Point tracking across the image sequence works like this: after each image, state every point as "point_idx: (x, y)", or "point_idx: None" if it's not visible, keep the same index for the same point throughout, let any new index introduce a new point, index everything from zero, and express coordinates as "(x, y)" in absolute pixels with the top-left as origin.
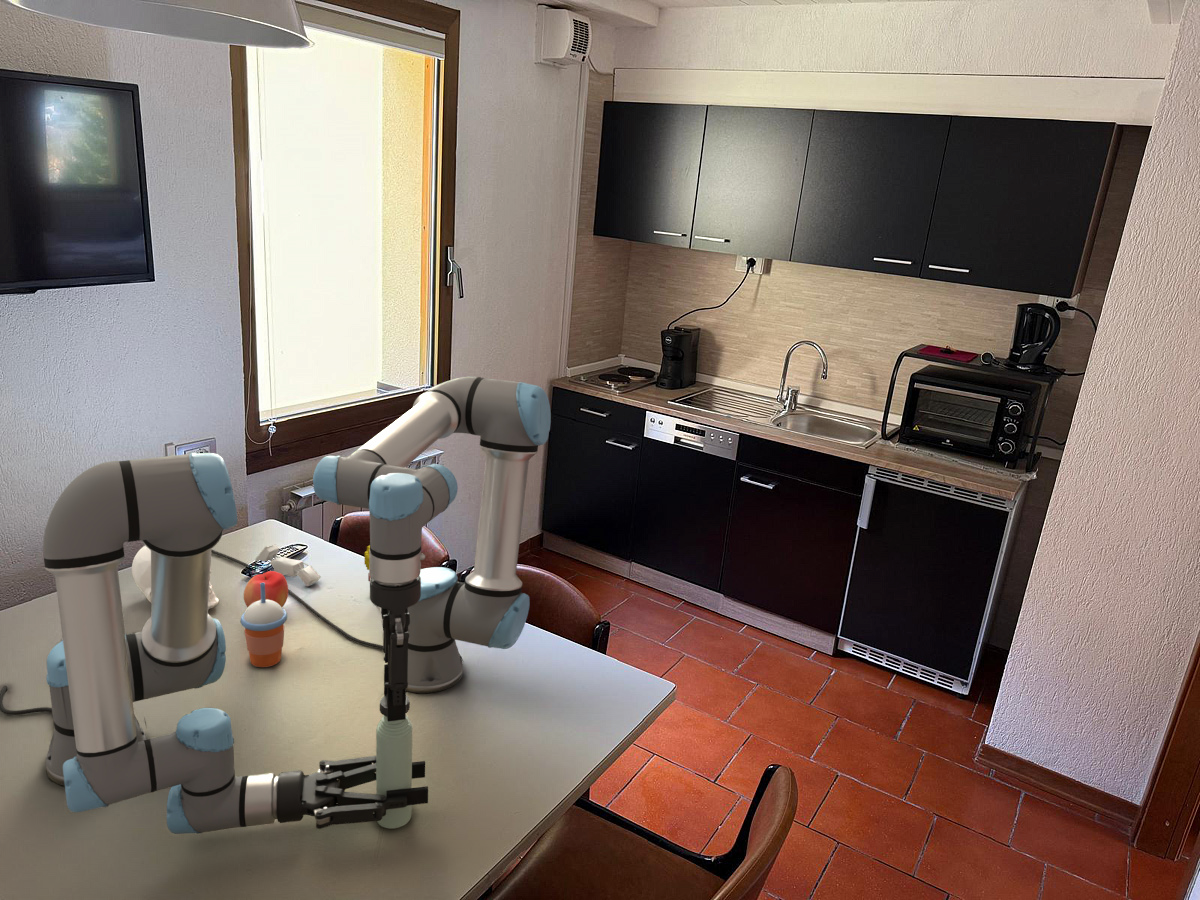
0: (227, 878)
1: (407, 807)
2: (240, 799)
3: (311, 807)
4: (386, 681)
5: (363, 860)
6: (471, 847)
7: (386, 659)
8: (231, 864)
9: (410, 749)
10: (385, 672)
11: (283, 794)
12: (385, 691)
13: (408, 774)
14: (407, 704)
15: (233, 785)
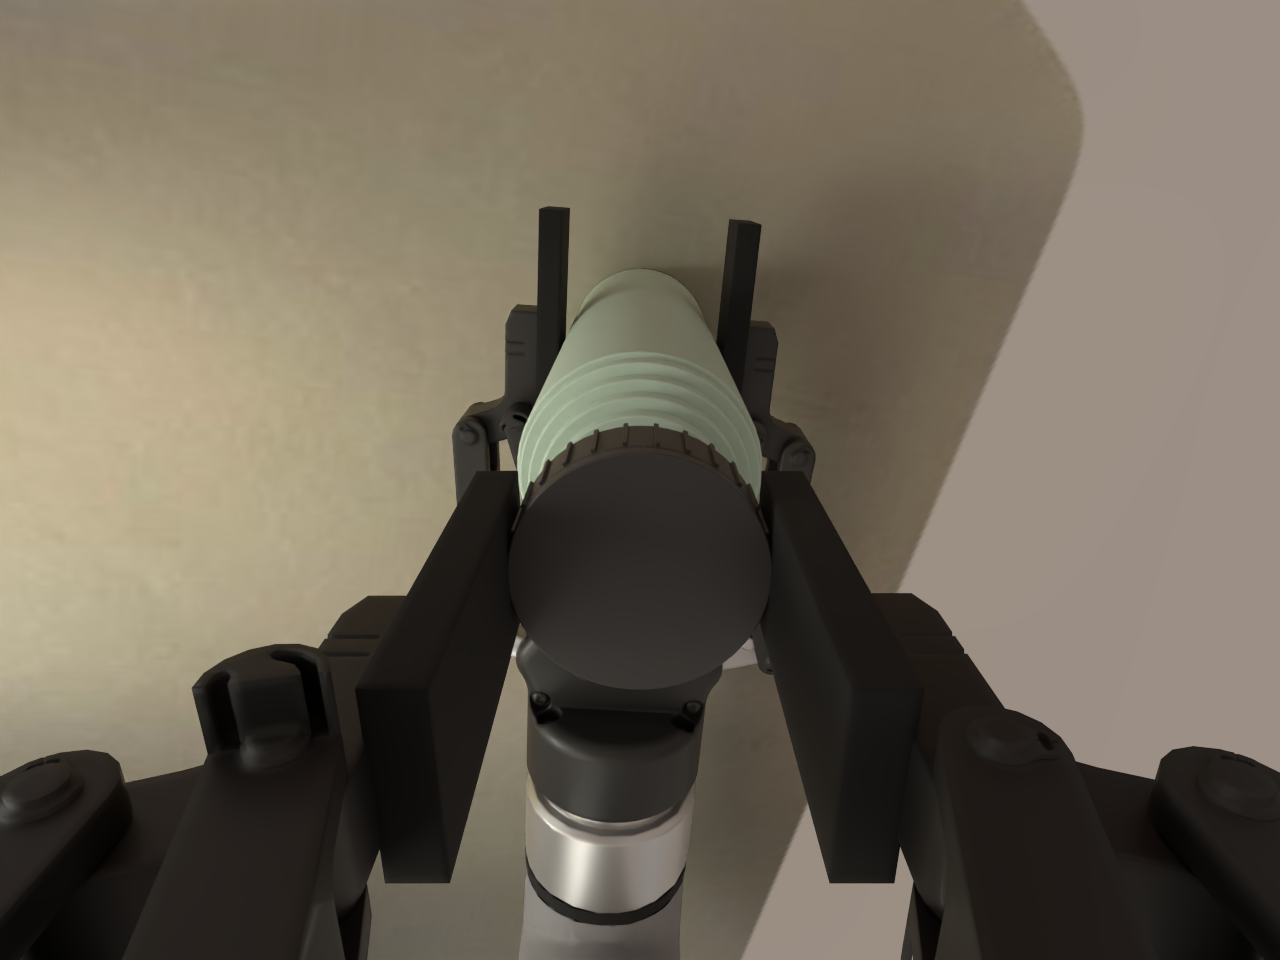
0: (771, 788)
1: (691, 299)
2: (666, 903)
3: (717, 680)
4: (488, 716)
5: (824, 454)
6: (896, 45)
7: (364, 937)
8: (722, 783)
9: (699, 342)
10: (468, 812)
11: (677, 791)
12: (507, 654)
13: (700, 325)
14: (719, 475)
15: (622, 946)
